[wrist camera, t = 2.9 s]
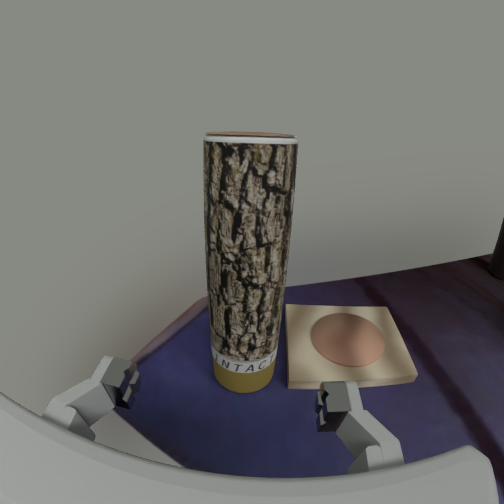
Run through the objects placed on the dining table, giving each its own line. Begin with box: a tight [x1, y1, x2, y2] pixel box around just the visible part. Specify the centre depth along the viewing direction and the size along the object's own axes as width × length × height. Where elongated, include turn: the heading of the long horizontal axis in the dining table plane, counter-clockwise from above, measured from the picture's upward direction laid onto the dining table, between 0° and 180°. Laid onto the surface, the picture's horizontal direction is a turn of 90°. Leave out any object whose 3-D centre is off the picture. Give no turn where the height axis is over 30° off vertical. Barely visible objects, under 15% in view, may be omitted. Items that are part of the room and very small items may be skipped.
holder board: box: [285, 304, 418, 389], centre depth 34 cm, size 16×14×2 cm
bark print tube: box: [204, 132, 298, 393], centre depth 24 cm, size 7×7×25 cm
